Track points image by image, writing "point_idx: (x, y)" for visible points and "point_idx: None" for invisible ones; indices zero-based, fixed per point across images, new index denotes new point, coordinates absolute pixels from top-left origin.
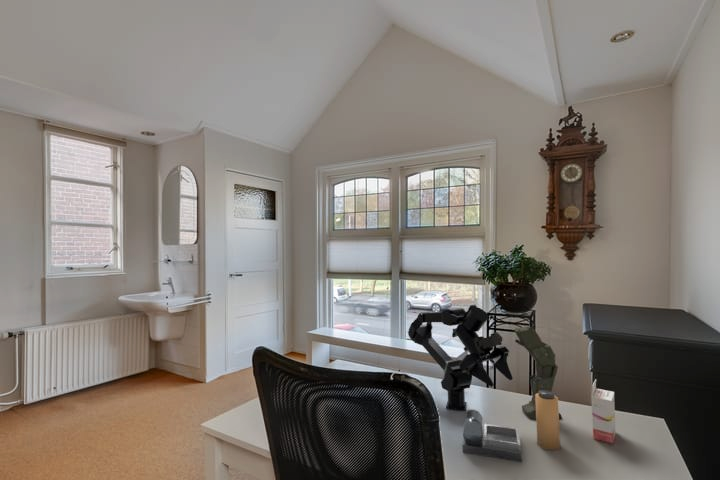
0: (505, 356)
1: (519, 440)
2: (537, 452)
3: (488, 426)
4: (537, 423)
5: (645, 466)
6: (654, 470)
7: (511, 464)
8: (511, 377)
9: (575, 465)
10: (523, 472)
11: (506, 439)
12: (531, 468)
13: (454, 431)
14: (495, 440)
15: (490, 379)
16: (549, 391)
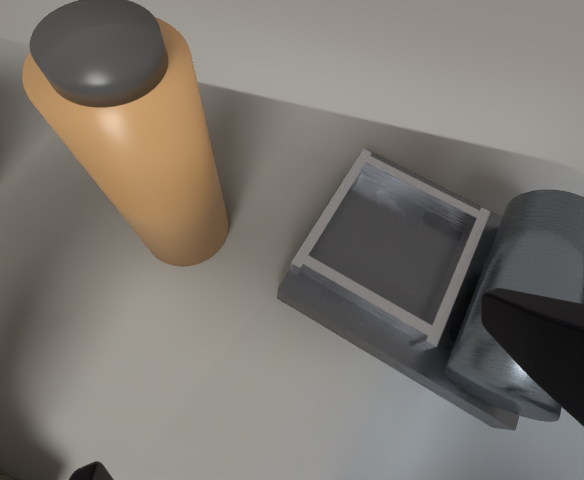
0: None
1: (348, 173)
2: (269, 195)
3: (421, 322)
4: (215, 191)
5: (12, 67)
6: (13, 51)
7: (399, 163)
8: (89, 475)
9: (207, 115)
10: (383, 127)
11: (368, 239)
12: (349, 135)
13: (548, 439)
14: (445, 196)
15: (560, 310)
16: (42, 47)
